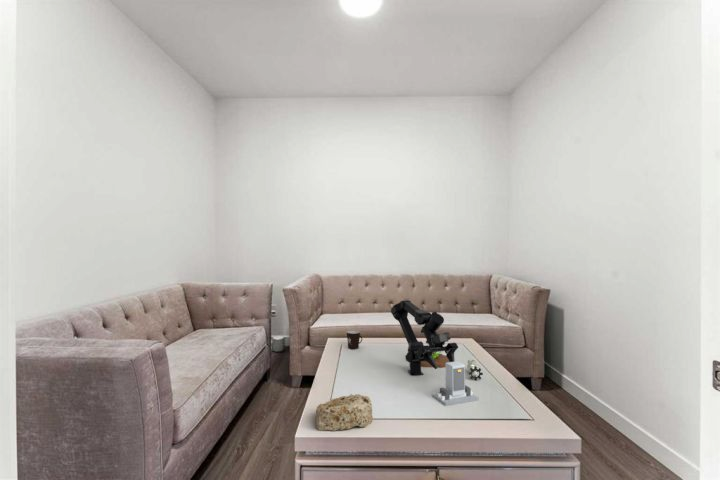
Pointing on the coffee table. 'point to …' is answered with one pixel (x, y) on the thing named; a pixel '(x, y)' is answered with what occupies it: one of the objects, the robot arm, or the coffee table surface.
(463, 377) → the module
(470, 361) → the valve
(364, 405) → the rock
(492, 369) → the coffee table surface
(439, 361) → the plant
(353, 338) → the coffee mug
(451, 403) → the rail
